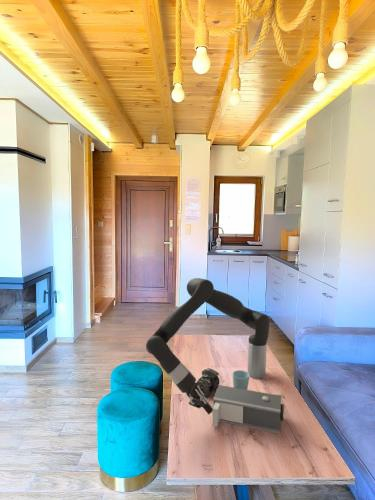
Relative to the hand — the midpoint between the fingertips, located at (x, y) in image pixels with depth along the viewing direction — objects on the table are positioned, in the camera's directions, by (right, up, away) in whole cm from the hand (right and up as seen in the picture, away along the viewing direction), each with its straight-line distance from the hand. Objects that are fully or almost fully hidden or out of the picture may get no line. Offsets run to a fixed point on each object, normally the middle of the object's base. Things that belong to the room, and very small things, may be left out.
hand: (211, 411), depth 124 cm
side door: (+6, -5, 0) cm, 8 cm away
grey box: (+15, -5, +6) cm, 17 cm away
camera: (+1, -3, +27) cm, 27 cm away
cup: (+15, -4, +22) cm, 27 cm away
